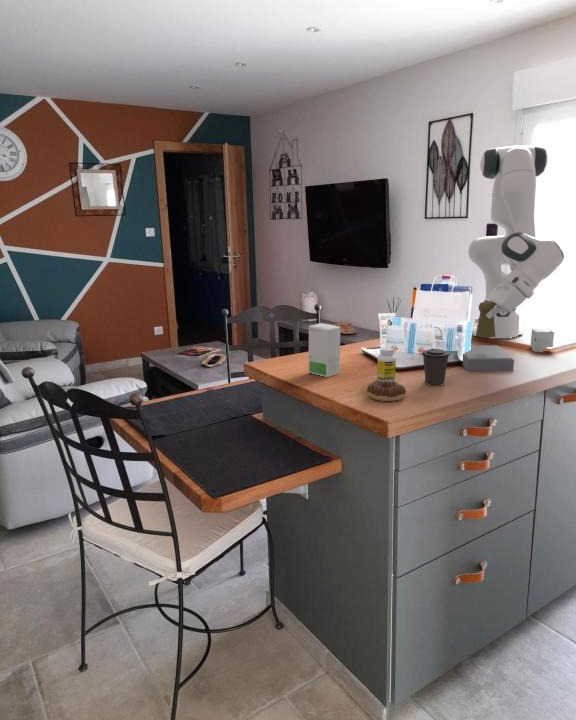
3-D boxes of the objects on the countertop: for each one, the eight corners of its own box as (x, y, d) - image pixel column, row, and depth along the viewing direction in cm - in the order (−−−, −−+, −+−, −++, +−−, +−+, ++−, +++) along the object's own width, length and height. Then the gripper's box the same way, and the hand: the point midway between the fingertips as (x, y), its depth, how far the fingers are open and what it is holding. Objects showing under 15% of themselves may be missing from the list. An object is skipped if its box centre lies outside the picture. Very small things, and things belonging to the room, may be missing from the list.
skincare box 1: (307, 373, 180) (306, 325, 176) (321, 369, 184) (320, 322, 180) (328, 378, 174) (327, 329, 170) (341, 373, 179) (341, 325, 175)
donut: (360, 400, 154) (360, 386, 153) (376, 389, 162) (377, 376, 161) (396, 406, 148) (397, 392, 147) (411, 395, 156) (412, 381, 155)
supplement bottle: (384, 383, 167) (384, 351, 164) (373, 379, 171) (373, 348, 169) (398, 380, 169) (399, 349, 167) (387, 376, 174) (388, 345, 171)
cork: (492, 333, 185) (494, 300, 182) (497, 337, 179) (499, 303, 177) (474, 333, 186) (475, 300, 183) (478, 337, 180) (479, 303, 177)
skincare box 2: (529, 348, 203) (531, 328, 201) (547, 348, 202) (549, 328, 200) (534, 352, 197) (536, 331, 195) (552, 352, 196) (554, 331, 195)
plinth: (456, 356, 194) (457, 345, 193) (498, 356, 193) (499, 345, 192) (467, 370, 177) (467, 358, 176) (513, 370, 176) (514, 358, 175)
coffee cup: (430, 377, 172) (431, 345, 169) (454, 382, 166) (455, 349, 163) (415, 383, 166) (416, 350, 163) (439, 389, 160) (440, 355, 158)
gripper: (502, 273, 187) (471, 303, 191) (520, 281, 167) (485, 313, 171) (515, 287, 188) (483, 316, 191) (535, 295, 168) (499, 327, 172)
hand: (484, 315), depth 181 cm, fingers closed on cork, 5 cm apart
